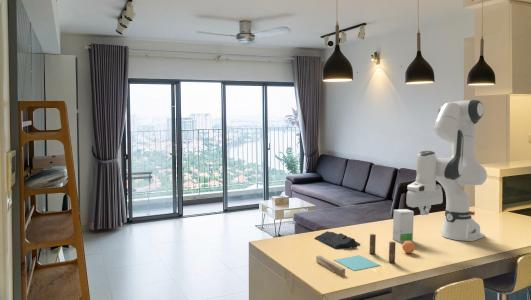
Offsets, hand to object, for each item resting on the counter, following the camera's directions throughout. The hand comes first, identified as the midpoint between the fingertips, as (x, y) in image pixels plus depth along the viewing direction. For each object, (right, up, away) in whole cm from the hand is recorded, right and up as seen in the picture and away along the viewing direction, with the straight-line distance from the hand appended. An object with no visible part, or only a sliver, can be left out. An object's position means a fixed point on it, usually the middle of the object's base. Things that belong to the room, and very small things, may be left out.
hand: (424, 214), depth 197 cm
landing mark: (-35, -19, -16) cm, 43 cm away
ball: (-9, -15, -3) cm, 17 cm away
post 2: (-20, -19, -15) cm, 31 cm away
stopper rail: (-48, -19, -22) cm, 56 cm away
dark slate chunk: (-39, -17, +14) cm, 45 cm away
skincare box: (-5, -16, +17) cm, 24 cm away
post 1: (-26, -18, -4) cm, 31 cm away
